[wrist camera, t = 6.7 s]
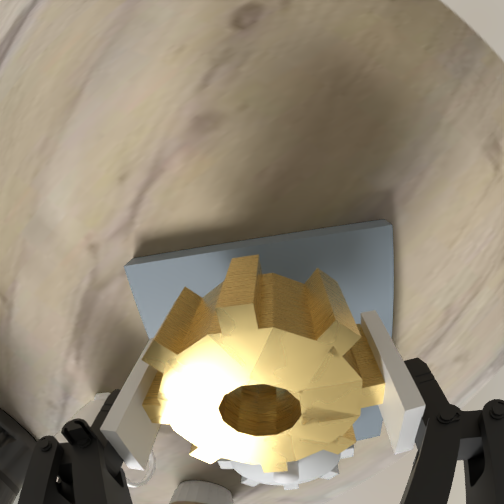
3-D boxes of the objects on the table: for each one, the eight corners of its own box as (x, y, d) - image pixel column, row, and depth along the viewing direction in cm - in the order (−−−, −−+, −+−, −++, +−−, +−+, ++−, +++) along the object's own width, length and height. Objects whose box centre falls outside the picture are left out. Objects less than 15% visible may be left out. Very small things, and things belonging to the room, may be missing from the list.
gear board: (204, 443, 27) (192, 503, 20) (132, 258, 21) (77, 309, 14) (376, 424, 25) (394, 485, 18) (384, 219, 19) (439, 259, 12)
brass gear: (197, 415, 17) (182, 471, 13) (143, 271, 14) (100, 318, 10) (358, 399, 16) (374, 457, 12) (356, 239, 13) (391, 281, 9)
